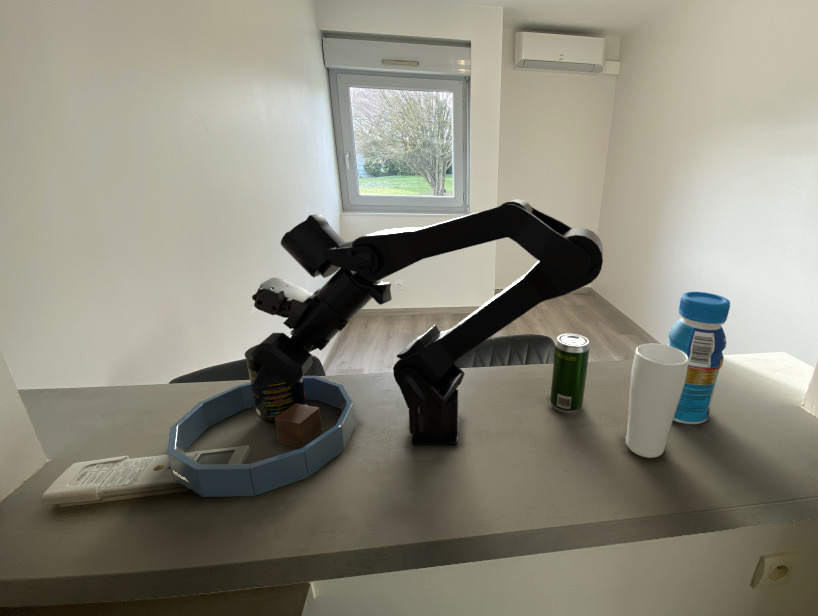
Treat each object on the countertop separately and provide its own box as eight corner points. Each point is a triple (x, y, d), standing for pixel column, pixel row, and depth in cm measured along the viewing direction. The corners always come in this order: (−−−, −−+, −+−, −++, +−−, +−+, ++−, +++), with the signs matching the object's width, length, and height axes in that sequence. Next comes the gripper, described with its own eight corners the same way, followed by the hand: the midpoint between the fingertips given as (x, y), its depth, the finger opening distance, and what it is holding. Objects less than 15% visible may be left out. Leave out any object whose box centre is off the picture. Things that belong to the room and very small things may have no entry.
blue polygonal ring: (368, 396, 68) (366, 375, 67) (324, 494, 48) (320, 467, 47) (233, 397, 67) (229, 375, 65) (130, 498, 47) (120, 470, 45)
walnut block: (322, 431, 59) (319, 407, 58) (303, 448, 56) (299, 423, 54) (299, 426, 60) (295, 402, 59) (278, 442, 57) (274, 418, 55)
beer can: (582, 416, 65) (590, 348, 61) (548, 412, 66) (554, 344, 62) (582, 399, 70) (590, 335, 66) (551, 395, 71) (556, 331, 67)
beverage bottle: (643, 407, 69) (664, 294, 62) (671, 392, 73) (693, 286, 67) (691, 433, 62) (720, 310, 55) (718, 415, 67) (748, 300, 60)
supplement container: (315, 412, 62) (306, 350, 58) (267, 432, 57) (254, 365, 53) (297, 395, 66) (287, 336, 62) (250, 412, 61) (237, 349, 58)
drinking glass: (634, 427, 63) (649, 338, 58) (677, 448, 59) (698, 354, 54) (611, 446, 59) (625, 351, 54) (655, 470, 54) (676, 370, 49)
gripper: (315, 247, 63) (253, 314, 66) (254, 279, 45) (173, 368, 48) (371, 296, 66) (310, 358, 69) (335, 343, 48) (255, 424, 51)
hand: (268, 373), depth 59 cm, fingers closed on supplement container, 7 cm apart
